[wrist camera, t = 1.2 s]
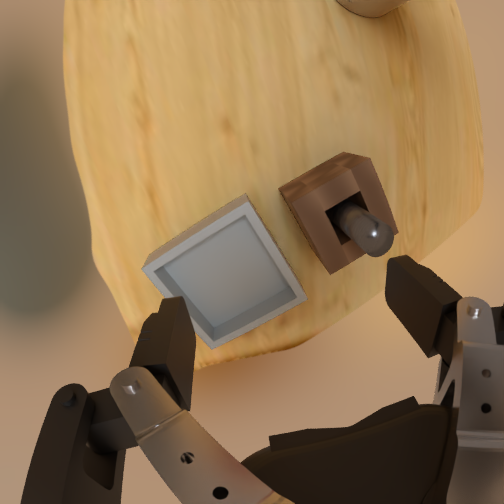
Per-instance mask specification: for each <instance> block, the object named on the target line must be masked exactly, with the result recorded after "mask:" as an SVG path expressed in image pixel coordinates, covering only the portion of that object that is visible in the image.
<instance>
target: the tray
mask: <svg viewBox="0 0 504 504" xmlns="http://www.w3.org/2000/svg"><path fill="white" fill-rule="evenodd" d="M142 270H143V272H144V273H145V274H146V275H147V277H148V278H149V279H150V280H151V281H152V283H153V284H154V285H155V286H156V288H157V289H158V290H159V291H160V292H161V293H162V295H163V296H164V297H165V298H171V297H178V296H183V298H184V300H185V303H186V306H187V309H188V312H189V315H190V318H191V321H192V324H193V327H194V331H195V332H196V333H197V334H198V335H199V337H200V338H201V339H202V340H203V341H204V342H205V343H206V344H207V345H208V346H209V347H210V348H211V349H214V348H216V347H218V346H220V345H222V344H224V343H226V342H228V341H230V340H232V339H234V338H236V337H238V336H240V335H242V334H244V333H246V332H248V331H250V330H252V329H254V328H256V327H258V326H260V325H262V324H264V323H266V322H267V321H269V320H271V319H273V318H275V317H277V316H279V315H280V314H282V313H284V312H286V311H288V310H290V309H291V308H293V307H295V306H297V305H299V304H301V303H302V302H304V301H306V300H308V298H307V296H306V294H305V292H304V290H303V287H302V285H301V283H300V282H299V280H298V278H297V277H296V275H295V273H294V272H293V270H292V268H291V267H290V265H289V263H288V262H287V260H286V258H285V257H284V255H283V253H282V252H281V250H280V248H279V247H278V245H277V243H276V242H275V240H274V238H273V237H272V235H271V234H270V232H269V230H268V229H267V227H266V225H265V224H264V222H263V221H262V219H261V217H260V216H259V214H258V212H257V211H256V209H255V208H254V206H253V204H252V203H251V201H250V200H249V198H248V196H247V195H246V193H245V194H243V195H242V196H240V197H238V198H237V199H235V200H233V201H232V202H230V203H228V204H227V205H225V206H224V207H222V208H220V209H219V210H217V211H216V212H214V213H212V214H211V215H209V216H208V217H206V218H204V219H203V220H201V221H200V222H198V223H197V224H195V225H193V226H192V227H190V228H189V229H187V230H186V231H184V232H183V233H181V234H180V235H178V236H176V237H175V238H173V239H172V240H170V241H169V242H167V243H166V244H164V245H163V246H161V247H160V248H158V249H157V250H155V251H154V252H152V253H151V254H149V256H148V258H147V260H146V261H145V263H144V265H143V267H142Z"/></svg>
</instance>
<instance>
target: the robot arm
mask: <svg viewBox="0 0 504 504" xmlns="http://www.w3.org/2000/svg"><path fill="white" fill-rule="evenodd" d="M337 1H338V2H339V3H340V4H341V5H343V6H344V7H345V8H347V9H348V10H350V11H352V12H354V13H356V14H358V15H361V16H365V17H380V16H383V15H384V14H386V13H388V12H390V11H392V10H393V9H395V8H397V7H399V6H401V5H403V4H405V3H407V2H408V1H410V0H337ZM385 297H386V302H387V304H388V306H389V308H390V309H391V310H392V311H393V313H394V314H395V315H396V316H397V318H398V319H399V320H400V322H401V323H402V324H403V325H404V327H405V328H406V329H407V331H408V332H409V333H410V335H411V336H412V337H413V339H414V340H415V341H416V342H417V344H418V345H419V346H420V348H421V349H422V351H423V352H424V353H425V355H426V356H427V357H428V358H430V357H432V356H435V355H437V354H440V355H441V358H440V361H439V367H438V375H437V383H436V389H435V395H434V400H433V404H420V405H419V404H418V402H417V401H416V399H415V397H414V396H412V397H410V398H407V399H405V400H402V401H399V402H397V403H394V404H392V405H389V406H386V407H383V408H381V409H380V410H378V411H376V412H375V413H373V414H372V415H370V416H368V417H366V418H365V419H363V420H361V421H359V422H358V423H356V424H354V425H352V426H349V427H343V428H320V429H305V430H300V431H295V432H290V433H284V434H278V435H272V436H269V441H270V446H268V447H266V448H264V449H261V450H260V451H257V452H255V453H254V454H252V455H250V456H249V457H247V458H246V459H245V460H243V461H242V462H241V463H240V462H239V461H237V460H236V459H235V458H234V457H233V456H232V455H231V454H230V453H228V451H226V450H225V449H224V448H223V447H222V446H221V445H220V444H219V443H218V442H217V441H216V440H215V439H214V438H213V437H212V436H211V435H210V434H209V433H208V432H207V431H206V430H205V429H204V428H203V427H202V426H201V425H200V424H199V423H198V422H197V421H196V420H195V419H194V418H193V417H192V416H191V414H190V413H189V412H188V411H190V406H191V394H192V382H193V370H194V360H195V349H196V336H195V331H194V327H193V324H192V321H191V318H190V315H189V312H188V309H187V306H186V303H185V300H184V298H183V296H178V297H171V298H164V299H162V302H161V305H160V308H159V311H158V313H152V314H151V315H150V316H149V317H148V318H147V319H146V321H145V322H144V323H143V326H142V329H141V334H140V335H139V338H138V341H137V344H136V347H135V350H134V353H133V356H132V359H131V362H130V365H129V368H127V369H124V370H122V371H121V372H119V373H118V374H117V375H116V376H115V377H114V378H113V379H112V381H111V384H110V387H109V388H106V389H103V390H100V391H96V392H92V393H88V392H87V391H86V389H85V388H84V387H83V386H82V385H80V384H75V383H73V384H68V385H66V386H64V387H62V388H61V389H59V390H58V391H57V392H56V394H55V395H54V396H53V398H52V401H51V404H50V406H49V409H48V411H47V414H46V417H45V420H44V423H43V425H42V428H41V431H40V434H39V437H38V440H37V443H36V446H35V450H34V453H33V456H32V459H31V463H30V467H29V470H28V474H27V478H26V482H25V486H24V490H23V495H22V499H21V504H121V492H122V481H123V471H124V462H125V454H126V449H128V448H132V447H136V446H140V448H141V449H142V451H143V452H144V454H145V455H146V457H147V458H148V460H149V461H150V462H151V464H152V465H153V467H154V468H155V470H156V471H157V472H158V474H159V475H160V476H161V478H162V479H163V480H164V482H165V483H166V484H167V486H168V487H169V488H170V489H171V491H172V492H173V493H174V494H175V496H176V497H177V498H178V499H179V500H180V502H181V503H182V504H504V304H503V306H501V307H492V308H491V307H490V306H489V305H488V304H487V303H486V302H485V301H484V300H482V299H479V298H476V297H465V298H462V296H460V295H459V294H458V293H457V292H456V291H455V290H454V289H453V288H451V287H450V286H449V285H448V284H447V283H446V282H443V280H442V279H441V278H440V277H437V275H436V274H435V273H434V272H433V271H432V270H431V269H429V268H426V267H425V266H422V265H420V264H418V263H416V262H415V261H414V260H413V259H412V258H410V257H409V256H408V255H402V256H398V257H393V258H390V259H389V260H388V263H387V274H386V286H385Z"/></svg>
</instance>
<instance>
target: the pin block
mask: <svg viewBox="0 0 504 504" xmlns="http://www.w3.org/2000/svg"><path fill="white" fill-rule="evenodd" d="M278 189H279V190H280V192H281V194H282V196H283V197H284V199H285V201H286V203H287V204H288V206H289V208H290V210H291V211H292V213H293V215H294V217H295V219H296V220H297V222H298V224H299V226H300V228H301V229H302V231H303V233H304V235H305V237H306V238H307V240H308V242H309V244H310V246H311V248H312V250H313V251H314V252H315V254H316V255H317V257H318V258H319V259H320V261H321V262H322V264H323V265H324V267H325V268H326V269H327V271H328V272H329V274H330V275H331V274H333V273H334V272H336V271H338V270H339V269H341V268H343V267H344V266H346V265H348V264H349V263H351V262H353V261H354V260H356V259H358V258H359V257H361V256H363V255H364V254H366V252H365V251H364V250H363V249H362V248H360V247H359V246H358V245H357V244H356V243H355V242H354V241H353V240H352V239H351V238H350V237H349V236H348V235H346V234H345V233H344V232H343V231H342V230H341V229H340V228H339V227H338V226H337V225H335V224H334V223H333V222H332V221H331V220H330V219H329V218H328V217H327V215H326V213H325V211H326V210H328V209H329V208H331V207H333V206H335V205H336V204H338V203H340V202H341V201H343V200H345V199H348V200H350V201H351V202H353V203H355V204H356V205H358V206H360V207H361V208H363V209H364V210H366V211H368V212H369V213H371V214H372V215H374V216H375V217H377V218H379V219H380V220H382V221H383V222H385V223H386V224H388V225H389V226H390V227H391V228H392V230H393V233H394V235H396V234H397V233H398V230H397V227H396V224H395V221H394V218H393V215H392V212H391V209H390V207H389V204H388V201H387V199H386V196H385V193H384V191H383V188H382V186H381V183H380V181H379V178H378V176H377V173H376V171H375V169H374V166H373V164H372V162H371V159H370V158H367V157H363V156H359V155H354V154H350V153H345V152H342V153H340V154H338V155H337V156H335V157H333V158H331V159H329V160H328V161H326V162H324V163H322V164H320V165H319V166H317V167H315V168H313V169H311V170H310V171H308V172H306V173H304V174H303V175H301V176H299V177H297V178H296V179H294V180H292V181H290V182H289V183H287V184H285V185H283V186H282V187H280V188H278Z"/></svg>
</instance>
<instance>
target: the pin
mask: <svg viewBox="0 0 504 504" xmlns="http://www.w3.org/2000/svg"><path fill="white" fill-rule="evenodd" d="M325 213H326V215H327V217H328V218H329V219H330V220H331V221H332V222H333V223H334V224H335V225H337V226H338V227H339V228H340V229H341V230H342V231H343V232H344V233H345V234H346V235H348V236H349V237H350V238H351V239H352V240H353V241H354V242H355V243H356V244H357V245H358V246H359V247H360V248H362V249H363V250H364V251H365V252H366V253H367V254H368V255H369V256H372V257H379V256H382V255H384V254H385V253H386V252H388V250H389V249H390V248H391V246H392V244H393V240H394V233H393V230H392V228H391V227H390V226H389V225H388V224H386V223H385V222H383V221H382V220H380V219H379V218H377V217H375V216H374V215H372V214H371V213H369V212H368V211H366V210H364V209H363V208H361V207H360V206H358V205H356V204H355V203H353V202H351V201H350V200H348V199H345V200H343V201H341V202H340V203H338V204H336V205H335V206H333V207H331V208H329V209H328V210H326V211H325Z"/></svg>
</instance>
